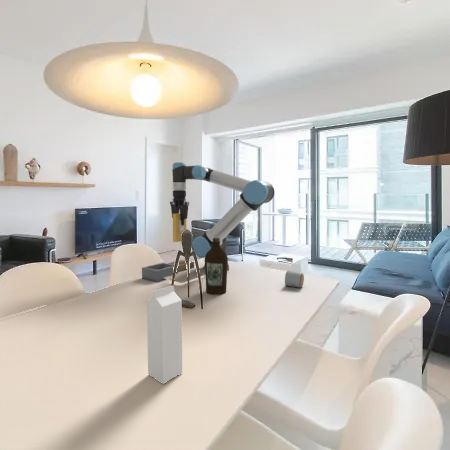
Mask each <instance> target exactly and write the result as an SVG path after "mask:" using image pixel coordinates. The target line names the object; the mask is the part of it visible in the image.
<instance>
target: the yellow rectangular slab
mask: <svg viewBox="0 0 450 450" xmlns="http://www.w3.org/2000/svg"><path fill="white" fill-rule="evenodd" d="M179 220H180V212H179V214H173V218H172V242H173V243H180V242H182V241H181V234H182V232H183V231H180V224H179ZM184 230H186V231H187V219H185V220H184Z"/></svg>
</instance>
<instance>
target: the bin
mask: <svg viewBox="0 0 450 450" xmlns="http://www.w3.org/2000/svg"><path fill="white" fill-rule="evenodd" d="M167 263H168V262H166V263H165V262H160V263H155V264H152V265H148V266H143V267H141V279H143V280H146V281H150V282H156V283H161V282H163V281H167V280H168V278H169V277H171V276H174V275H173V267H174V265H173V264H167ZM178 274H179V272H178V268H177V272H176V274H175V275H178Z"/></svg>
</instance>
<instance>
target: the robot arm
mask: <svg viewBox="0 0 450 450" xmlns="http://www.w3.org/2000/svg"><path fill="white" fill-rule="evenodd" d="M171 171H172V173H171V174H172V197H173V199H172V201H169V204H170V209H171V218H172V219H173V214H179V213H180V220H179V224H180V231H184V220H185V219H186V220H187V219H188V213H189V206H190V201H187V199H186V197H187V191H186V190H187V180H198V181H205V182H208V183H212V184H215V185H218V186H221V187H224V188H228V189H231V190H234V191H237V192H239V193H240V194H239V200H238V201H237V202H236V203H234V204H233V206H232V207H230V209H229V210H228V211H227V212H226V213H225V214H224V215H223V216H222V217H221V218H220V220H218V221H217V222H216V223H215V224H214V226H212V228H207V229H206V230H204V232H203V233H202V234H200V236H197V237H195V238H194V239H193V240H192V243H193V248H194V251H195V253H196V254H195V253H194V254H195V256H197V257H198V258H204V259H205V256H206V253H207V252H208V251H209V250H210V249H211V248H212V246H213V238H220V247H221V248H222V249H223V251H224V252H225V253H226V254H227V238H228V237H227V236H228V235H229V234H230V233H231V232H232V231H233V230H235V228H236V227H237V226H238V225H239V224H240V223H241V222H242V221H243V220H244V219H245V218H246V217H247V216H249V214H251V212H255V211H257V210H258V209H259V208H260V207H261V206H262V205H263V204H267V203H269V202H271V201H273V199H274V197H275V193H276V192H275V188H274V186H273V185H272V183H270V182H268V181H264V180H261V179H260V180H259V179H254V180H250V179H246V178H242V177H239V176H236V175H232V174H229V173H225V172H222V171H219V170H214V169H212V168H209V167H204V165H202V164H200V165H199V164H197V165H187V164H186V163H185V162H181V161H179V162H178V161H176V162H173V163H172V170H171ZM194 251H193V252H194ZM203 268H204V269H205V264H204V265H203ZM229 270H230V265H229V264H228V266H227V272H228V271H229Z"/></svg>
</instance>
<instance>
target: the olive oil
mask: <svg viewBox="0 0 450 450" xmlns="http://www.w3.org/2000/svg"><path fill="white" fill-rule="evenodd" d="M204 265H205V268H204V272H205V273H204V274H205V293H206V294H209V295H212V296H219V295H221V296H222V295H224V294H226V293H227V281H228V280H227V279H228V271H227V266H228V265H229V258H228V255H227V252H226V253H225V252H224V251H223V249H222V248H221V247H220V238H213V246H212V248H211V249H210V250H209V251H208V252H207V253H206V256H205V257H204Z"/></svg>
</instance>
